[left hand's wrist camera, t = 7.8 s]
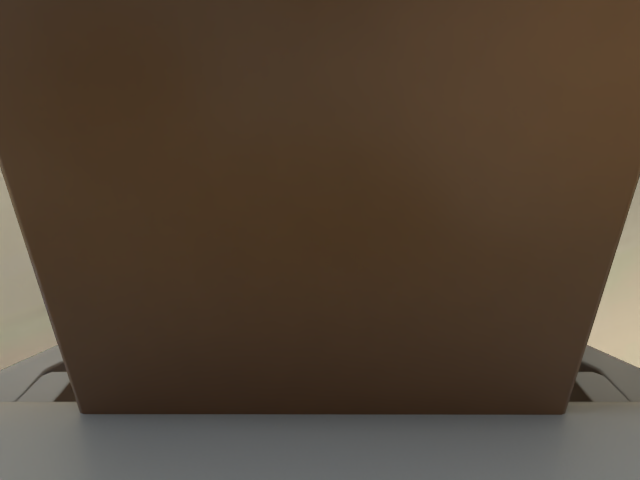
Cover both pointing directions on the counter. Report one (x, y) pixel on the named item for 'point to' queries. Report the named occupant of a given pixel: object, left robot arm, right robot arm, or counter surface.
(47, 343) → the counter surface
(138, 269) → the box
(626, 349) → the counter surface
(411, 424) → the left robot arm
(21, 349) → the counter surface
